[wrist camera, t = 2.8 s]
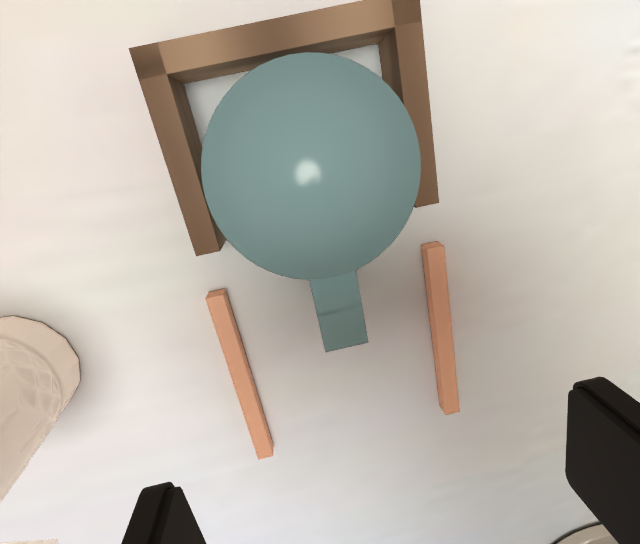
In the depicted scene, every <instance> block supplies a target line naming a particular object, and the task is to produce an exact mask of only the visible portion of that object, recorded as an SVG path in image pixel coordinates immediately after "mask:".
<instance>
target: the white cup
mask: <svg viewBox="0 0 640 544" xmlns="http://www.w3.org/2000/svg"><path fill="white" fill-rule="evenodd" d="M79 382H80V369H79V359H78V357H77V356H76V354H75V353H74V351H73V349H72V348H71V346H70V345H69V343H68V342H67V340H66V339H65V338H64V337H62V336H61V335H59V334H58V333H56V332H55V331H54V330H52V329H51V328H49V327H48V326H46V325H45V324H43V323H41V322H37V321H32V320H28V319H24V318H20V317H16V316H10V317H2V318H0V503H1V502H2V500H3V499H4V497H5V496H6V495H7V493H8V492H9V490H10V489H11V488H12V486H13V485H14V483H15V482H16V481H17V479H18V478H19V476H20V475H21V474H22V472H23V471H24V469H25V468H26V466H27V465H28V463H29V461H30V460H31V458H32V457H33V455H34V454H35V453H36V451H37V450H38V448H39V447H40V445H41V444H42V442H43V441H44V439H45V438H46V436H47V435H48V433H49V432H50V431H51V429H52V428H53V426H54V425H55V423H56V421H57V418H58V416H59V415H60V413H61V412H62V411H63V409H64V408H65V407H66V405H67V404H68V402H69V401H70V399H71V398H72V396H73V394H74V392H75V390H76V388H77V386H78V384H79Z"/></svg>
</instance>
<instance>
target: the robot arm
mask: <svg viewBox="0 0 640 544" xmlns="http://www.w3.org/2000/svg"><path fill="white" fill-rule="evenodd" d="M565 472H566V477H567V480H568V482H569V484H570V486H571V487H572V489H573V490H574V491H575V492H576V494H577V495H578V496H579V497H580V498H581V500H582V501H583V502H584V503H585V504H586V505H587V507H588V508H589V509H590V510H591V511H592V513H593V514H594V515H595V516H596V517H597V519H598V520H599V521H600V522H601V523H602V524H600V525H596V526H592V527H588V528H586V529H583V530H581V531H578V532H575V533H574V534H572V535H570V536H568V537H566V538H564V539H562V540H561V541H560V542H558V543H557V544H640V403H639V402H638V401H636V400H635V399H633V398H632V397H631V396H629V395H628V394H627V393H625V392H624V391H623V390H621V389H620V388H619V387H617V386H616V385H614V384H613V383H612V382H610V381H609V380H607V379H606V378H604V377H596V378H592V379H588V380H584V381H580V382H576V383H575V384H574V385H573V390H571V391H570V392H569V394H568V416H567V442H566V468H565ZM122 544H206V542H205V540H204V537H203V535H202V533H201V531H200V528H199V526H198V524H197V522H196V520H195V517H194V515H193V513H192V511H191V508H190V506H189V504H188V502H187V499H186V497H185V495H184V493H183V490H182V489H181V487H174V485H173V484H172V483H171V482H166V483H162V484H158V485H154V486H150V487H146V488H144V489H143V490H142V491H141V493H140V495H139V498H138V501H137V503H136V506H135V509H134V511H133V514H132V517H131V519H130V522H129V525H128V527H127V530H126V533H125V535H124V538H123V541H122Z"/></svg>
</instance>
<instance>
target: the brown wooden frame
mask: <svg viewBox="0 0 640 544" xmlns="http://www.w3.org/2000/svg"><path fill="white" fill-rule="evenodd" d="M373 44H378V46H379V53H380V61H381V69H382V76H383V81H384V82H385V83H387V84H388V85H389V86H390V87H391V89H392V90H393V91H394V92H395V93H396V95H397V96H398V97H399V98H400V100H401V102H402V103H403V105H404V106H405V108H406V110H407V111H408V114H409V116H410V118H411V120H412V122H413V125H414V128H415V131H416V134H417V138H418V143H419V149H420V157H421V174H420V184H419V189H418V194H417V198H416V201H415V204H414V207H416V208H417V207H421V206H426V205H430V204H435V203H439V197H438V186H437V176H436V165H435V155H434V144H433V134H432V123H431V113H430V102H429V92H428V82H427V71H426V61H425V50H424V40H423V29H422V19H421V8H420V0H363V1H358V2H353V3H348V4H343V5H338V6H333V7H328V8H323V9H319V10H314V11H309V12H304V13H299V14H294V15H289V16H284V17H279V18H275V19H270V20H265V21H260V22H255V23H250V24H245V25H240V26H235V27H231V28H226V29H221V30H216V31H211V32H206V33H201V34H196V35H192V36H187V37H182V38H177V39H172V40H167V41H162V42H157V43H152V44H148V45H143V46H138V47H133V48H129V51H130V54H131V57H132V60H133V63H134V66H135V69H136V73H137V76H138V79H139V82H140V85H141V88H142V91H143V94H144V97H145V100H146V103H147V106H148V109H149V113H150V116H151V119H152V122H153V125H154V128H155V131H156V134H157V137H158V140H159V143H160V146H161V149H162V153H163V156H164V159H165V162H166V165H167V168H168V171H169V174H170V177H171V180H172V183H173V186H174V189H175V193H176V196H177V199H178V202H179V205H180V208H181V211H182V214H183V217H184V220H185V223H186V226H187V229H188V233H189V236H190V239H191V242H192V245H193V248H194V251H195V254H196V256H199V255H204V254H208V253H213V252H217V251H220V250H221V248H222V246H223V245H224V243H225V241H226V238H225V236H224V235H223V233H222V232H221V230H220V229H219V227H218V226H217V224H216V222H215V220H214V218H213V216H212V214H211V212H210V209H209V207H208V204H207V201H206V198H205V194H204V189H203V184H202V174H201V157H202V146H201V143H200V139H199V136H198V133H197V129H196V126H195V122H194V119H193V115H192V112H191V108H190V105H189V102H188V98H187V95H186V91H185V88H184V84H185V83H190V82H195V81H200V80H205V79H209V78H214V77H219V76H224V75H229V74H233V73H238V72H243V71H248V70H253V69H255V68H256V67H258V66H260V65H262V64H264V63H266V62H268V61H271V60H273V59H275V58H279V57H282V56H286V55H289V54H297V53H304V52H310V53H326V54H330V53H334V52H339V51H344V50H349V49H354V48H358V47H363V46H368V45H373Z"/></svg>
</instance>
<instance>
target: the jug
mask: <svg viewBox="0 0 640 544" xmlns="http://www.w3.org/2000/svg"><path fill="white" fill-rule="evenodd" d="M201 174H202V184H203V189H204V194H205V198H206V201H207V204H208V207H209V209H210V212H211V214H212V216H213V218H214V220H215V222H216V224H217V226H218V227H219V229H220V230H221V232H222V233H223V235H224V236H225V238H226V239H227V240H228V241H229V242H230V243H231V244H232V245H233V247H234V248H235V249H236V250H238V251H239V252H240V253H241V254H242V255H243V256H245V257H246V258H247V259H249V260H250V261H252V262H253V263H255V264H256V265H258V266H260V267H262V268H264V269H266V270H268V271H270V272H273V273H276V274H279V275H281V276H286V277H290V278H295V279H306V280H309V281H310V285H311V290H312V294H313V299H314V303H315V308H316V312H317V316H318V321H319V325H320V330H321V334H322V339H323V343H324V348H325V352H329V351H333V350H338V349H342V348H346V347H351V346H355V345H360V344H364V343H368V337H367V331H366V326H365V320H364V315H363V309H362V304H361V298H360V292H359V287H358V281H357V276H356V269H358V268H360V267H362V266H364V265H365V264H367V263H369V262H371V261H372V260H373V259H375V258H376V257H377V256H379V255H380V254H381V253H382V252H383V251H384V250H385V249H386V248H387V247H388V246H389V245H390V244H391V243H392V242H393V241H394V240H395V238H396V237H397V236H398V235H399V233H400V232H401V230H402V229H403V227H404V225H405V224H406V222H407V220H408V218H409V216H410V214H411V212H412V210H413V207H414V204H415V201H416V198H417V194H418V189H419V184H420V174H421V157H420V149H419V143H418V138H417V134H416V131H415V128H414V125H413V122H412V120H411V118H410V116H409V114H408V111H407V110H406V108H405V106H404V105H403V103H402V102H401V100H400V98H399V97H398V96H397V95H396V93H395V92H394V91H393V90H392V89H391V87H390V86H389V85H388V84H387V83H385V82H384V81H383V80H382V79H381V78H380V77H379V76H378V75H376V74H375V73H373V72H372V71H370V70H369V69H367V68H366V67H364V66H362V65H360V64H358V63H356V62H354V61H352V60H349V59H346V58H343V57H340V56H337V55H332V54H326V53H310V52H304V53H297V54H289V55H286V56H282V57H279V58H275V59H273V60H271V61H268V62H266V63H264V64H262V65H260V66H258V67H256V68H255V69H253V70H252V71H250V72H249V73H247V74H246V75H245V76H243V77H242V78H241V79H240V80H239V81H238V82H237V83H235V84H234V85H233V87H232V88H231V89H230V90H229V91H228V92H227V94H226V95H225V96H224V97H223V99H222V100H221V102H220V103H219V105H218V107H217V108H216V110H215V112H214V114H213V116H212V118H211V120H210V123H209V125H208V128H207V131H206V135H205V138H204V143H203V149H202V157H201Z"/></svg>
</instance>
